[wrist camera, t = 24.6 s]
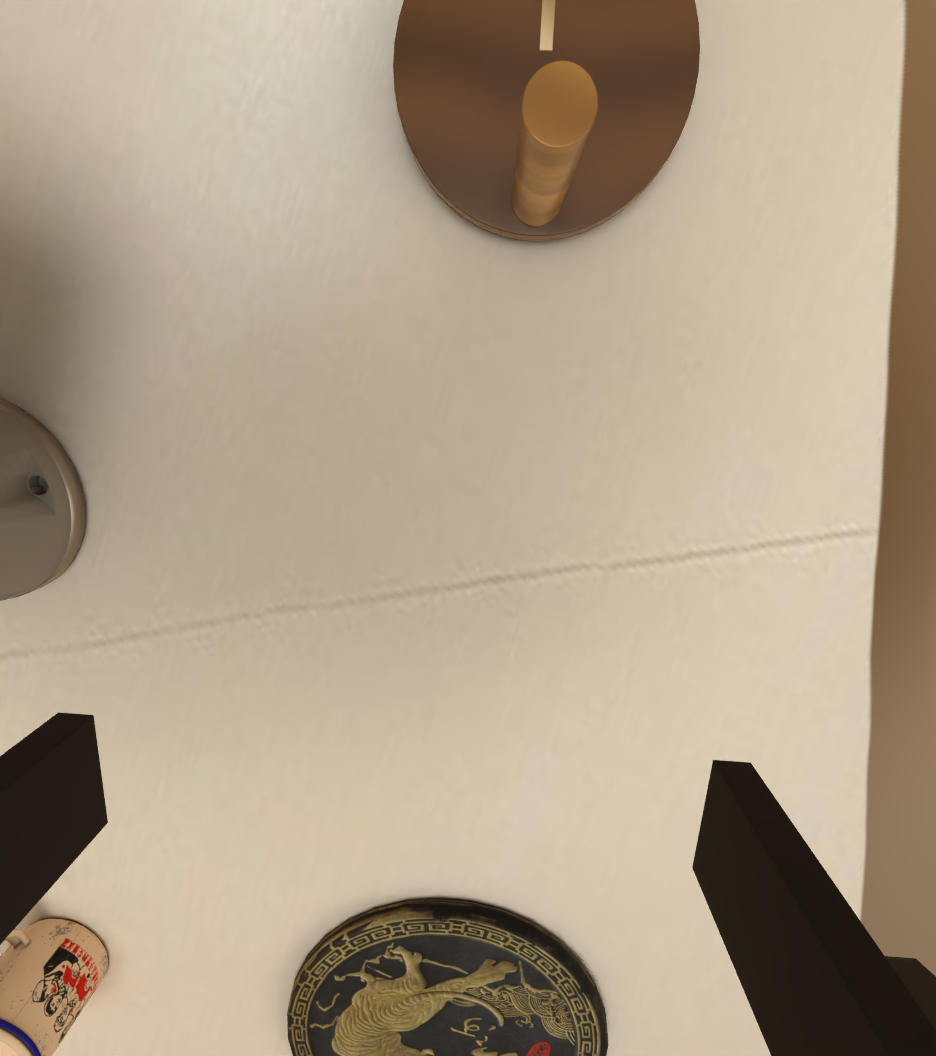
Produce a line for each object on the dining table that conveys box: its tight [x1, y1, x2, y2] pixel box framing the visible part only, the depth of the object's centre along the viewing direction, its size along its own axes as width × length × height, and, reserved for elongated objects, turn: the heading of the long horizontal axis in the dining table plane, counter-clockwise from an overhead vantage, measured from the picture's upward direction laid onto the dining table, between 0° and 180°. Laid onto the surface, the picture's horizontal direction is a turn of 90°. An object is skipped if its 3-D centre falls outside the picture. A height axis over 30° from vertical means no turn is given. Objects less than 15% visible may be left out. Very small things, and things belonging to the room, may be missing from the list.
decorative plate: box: [287, 899, 608, 1056], centre depth 51 cm, size 30×2×30 cm
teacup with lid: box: [0, 919, 108, 1056], centre depth 46 cm, size 12×9×12 cm
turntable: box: [393, 0, 700, 241], centre depth 26 cm, size 17×17×12 cm
